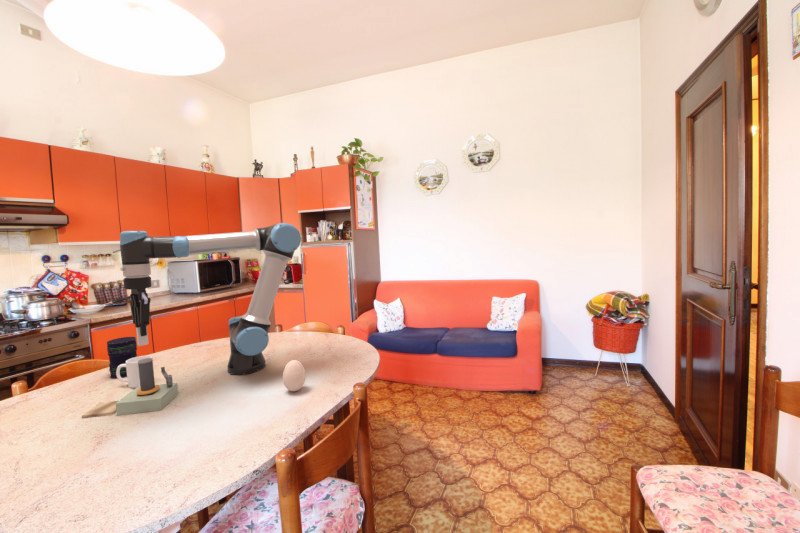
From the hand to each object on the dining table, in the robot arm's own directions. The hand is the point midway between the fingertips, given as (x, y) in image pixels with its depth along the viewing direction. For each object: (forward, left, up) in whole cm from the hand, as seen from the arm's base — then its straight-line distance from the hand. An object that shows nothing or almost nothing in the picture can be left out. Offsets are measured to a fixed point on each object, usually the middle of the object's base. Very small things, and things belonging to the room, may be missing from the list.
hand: (143, 344), depth 119 cm
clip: (-3, -7, -16) cm, 18 cm away
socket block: (-1, +1, -21) cm, 21 cm away
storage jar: (+24, -33, -21) cm, 46 cm away
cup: (+13, -19, -21) cm, 31 cm away
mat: (+12, +2, -21) cm, 24 cm away
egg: (-50, +4, -21) cm, 54 cm away
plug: (-1, +1, -21) cm, 21 cm away
